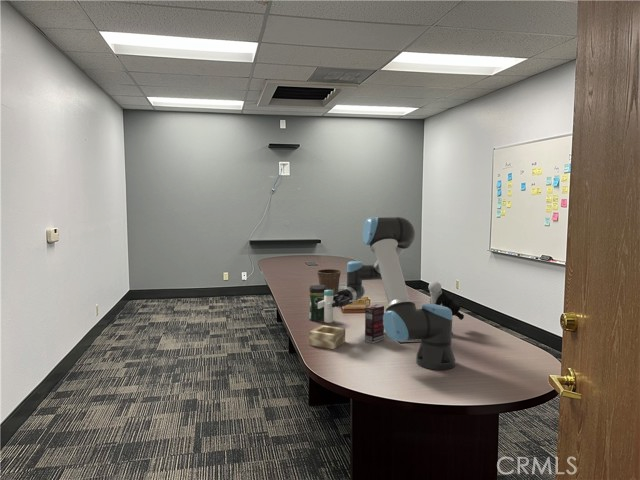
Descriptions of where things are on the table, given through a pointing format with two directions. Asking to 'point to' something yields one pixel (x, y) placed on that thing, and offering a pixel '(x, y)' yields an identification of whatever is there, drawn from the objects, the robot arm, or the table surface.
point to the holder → (327, 336)
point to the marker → (327, 299)
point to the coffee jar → (316, 302)
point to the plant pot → (329, 279)
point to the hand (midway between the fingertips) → (323, 306)
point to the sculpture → (443, 299)
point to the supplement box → (374, 323)
